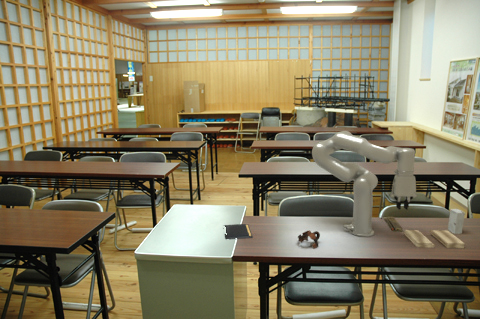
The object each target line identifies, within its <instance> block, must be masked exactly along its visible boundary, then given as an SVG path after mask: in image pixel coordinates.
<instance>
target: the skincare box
mask: <svg viewBox="0 0 480 319" xmlns="http://www.w3.org/2000/svg"><path fill="white" fill-rule="evenodd" d="M465 213H466V212H464V211H463V210H460V209H458V208H450V211H449V218H448V224H447V230H448V231H449V232H450V233H452V234H453V235H460V234H462V233H463V226H464V221H465Z"/></svg>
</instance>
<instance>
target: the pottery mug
mask: <svg viewBox="0 0 480 319" xmlns="http://www.w3.org/2000/svg"><path fill="white" fill-rule="evenodd" d="M320 236H321V233H320V232H319V231H318V230H317V231H316V230H315V231H313V232H312V230H306V231H304V232H302V233H301V234H299V235H297V238H298V243H300V242H301V243H303V242H304V241H306V242H308V241H309V238H310V240H313V242H314V243H313V244H312V245H311V247H312V249H313V250H314V249H316V248H318V247H319V239H320Z"/></svg>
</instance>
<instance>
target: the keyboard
mask: <svg viewBox="0 0 480 319" xmlns="http://www.w3.org/2000/svg"><path fill="white" fill-rule="evenodd" d="M380 219H381V220H383V221H385V224H387V226H388V228H389V230H390V231H391V232H392V233H404V229H403V228H402V226H401V225H400V223H399V222H398V221H397V219H396V217H394V216H386V217H381V218H380Z"/></svg>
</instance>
